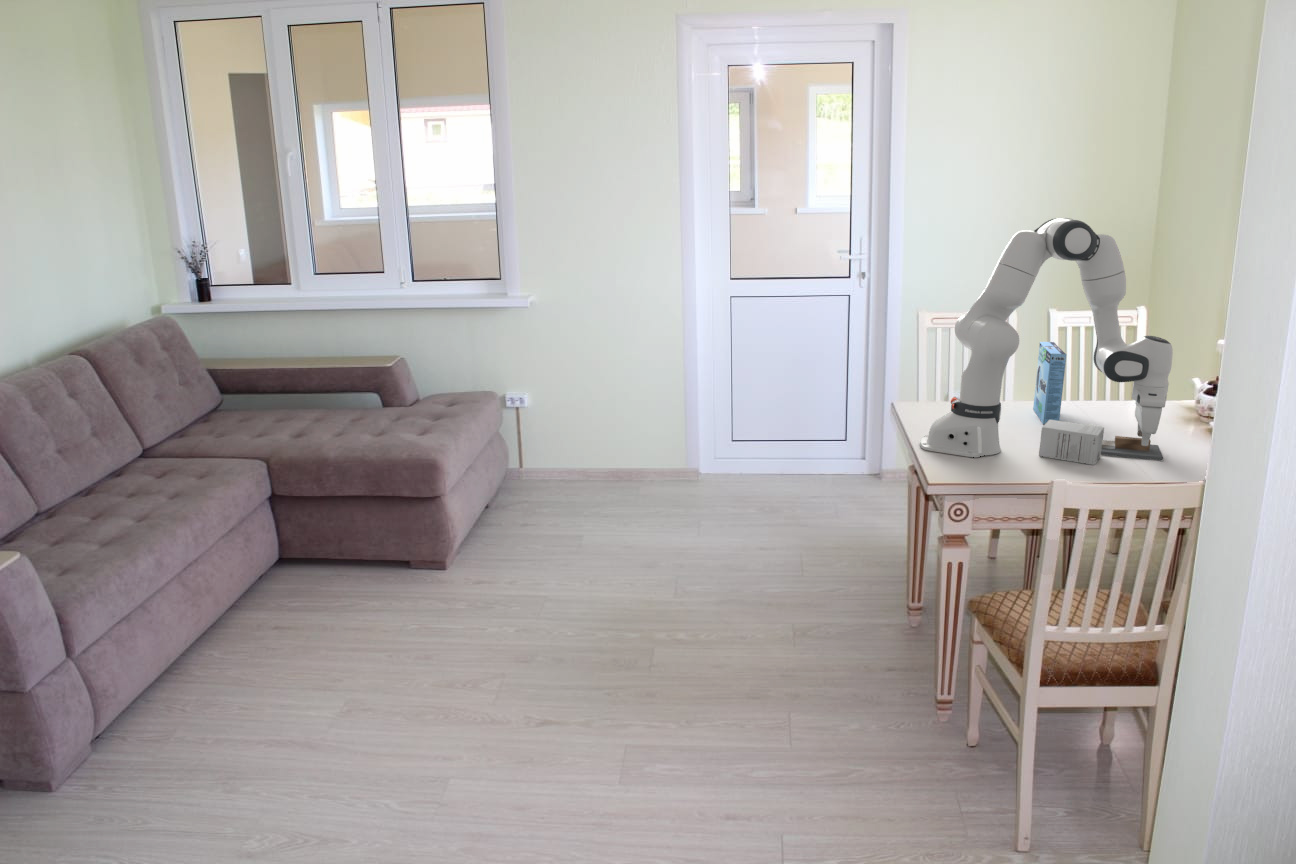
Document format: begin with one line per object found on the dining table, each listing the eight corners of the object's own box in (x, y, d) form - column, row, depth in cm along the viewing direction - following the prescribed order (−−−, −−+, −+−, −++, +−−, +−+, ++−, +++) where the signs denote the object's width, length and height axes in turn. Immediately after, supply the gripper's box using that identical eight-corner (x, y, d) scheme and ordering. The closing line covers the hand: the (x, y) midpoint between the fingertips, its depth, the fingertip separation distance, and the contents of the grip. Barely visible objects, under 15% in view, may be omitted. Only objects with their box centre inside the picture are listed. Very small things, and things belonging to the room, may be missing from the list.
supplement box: (1101, 456, 280) (1045, 447, 288) (1105, 426, 277) (1049, 418, 285) (1094, 466, 273) (1037, 456, 281) (1098, 435, 270) (1041, 426, 278)
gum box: (1058, 425, 311) (1067, 354, 304) (1041, 424, 312) (1050, 353, 305) (1047, 409, 329) (1055, 341, 322) (1031, 408, 330) (1039, 341, 323)
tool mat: (1085, 453, 284) (1085, 449, 283) (1082, 441, 294) (1083, 438, 294) (1162, 460, 277) (1163, 457, 277) (1157, 448, 288) (1158, 445, 288)
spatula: (1095, 447, 286) (1097, 437, 285) (1094, 442, 290) (1096, 432, 289) (1149, 452, 281) (1151, 442, 280) (1147, 447, 285) (1149, 437, 285)
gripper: (1133, 384, 290) (1126, 429, 294) (1141, 401, 271) (1133, 449, 275) (1157, 386, 288) (1150, 431, 292) (1166, 403, 269) (1159, 451, 273)
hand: (1142, 440), depth 283 cm, fingers open, 8 cm apart
